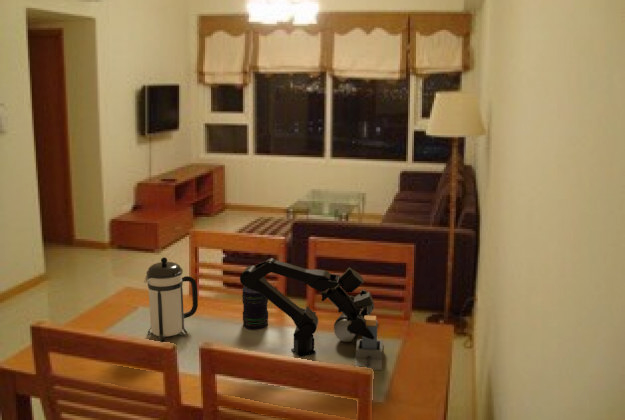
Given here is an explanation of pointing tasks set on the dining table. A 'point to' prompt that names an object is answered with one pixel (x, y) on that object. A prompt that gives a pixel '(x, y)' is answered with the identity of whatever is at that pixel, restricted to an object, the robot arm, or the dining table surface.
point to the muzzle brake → (342, 323)
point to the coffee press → (168, 298)
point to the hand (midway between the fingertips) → (373, 332)
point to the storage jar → (254, 310)
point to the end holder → (369, 356)
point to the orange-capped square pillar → (372, 326)
